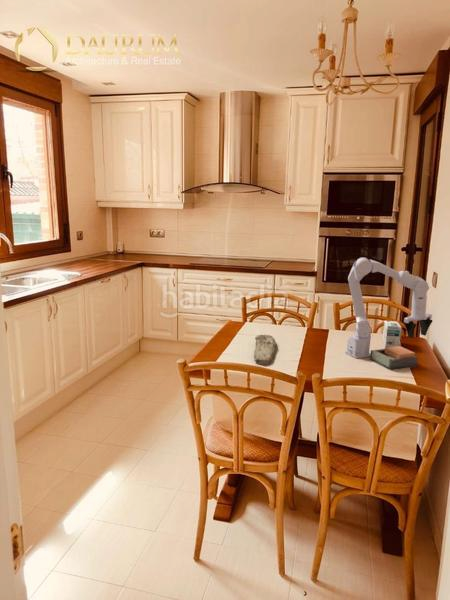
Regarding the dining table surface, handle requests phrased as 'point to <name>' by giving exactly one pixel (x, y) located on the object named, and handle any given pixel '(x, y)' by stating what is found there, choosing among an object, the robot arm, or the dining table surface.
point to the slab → (399, 352)
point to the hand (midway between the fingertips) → (417, 336)
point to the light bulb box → (391, 334)
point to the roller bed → (392, 360)
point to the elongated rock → (264, 349)
